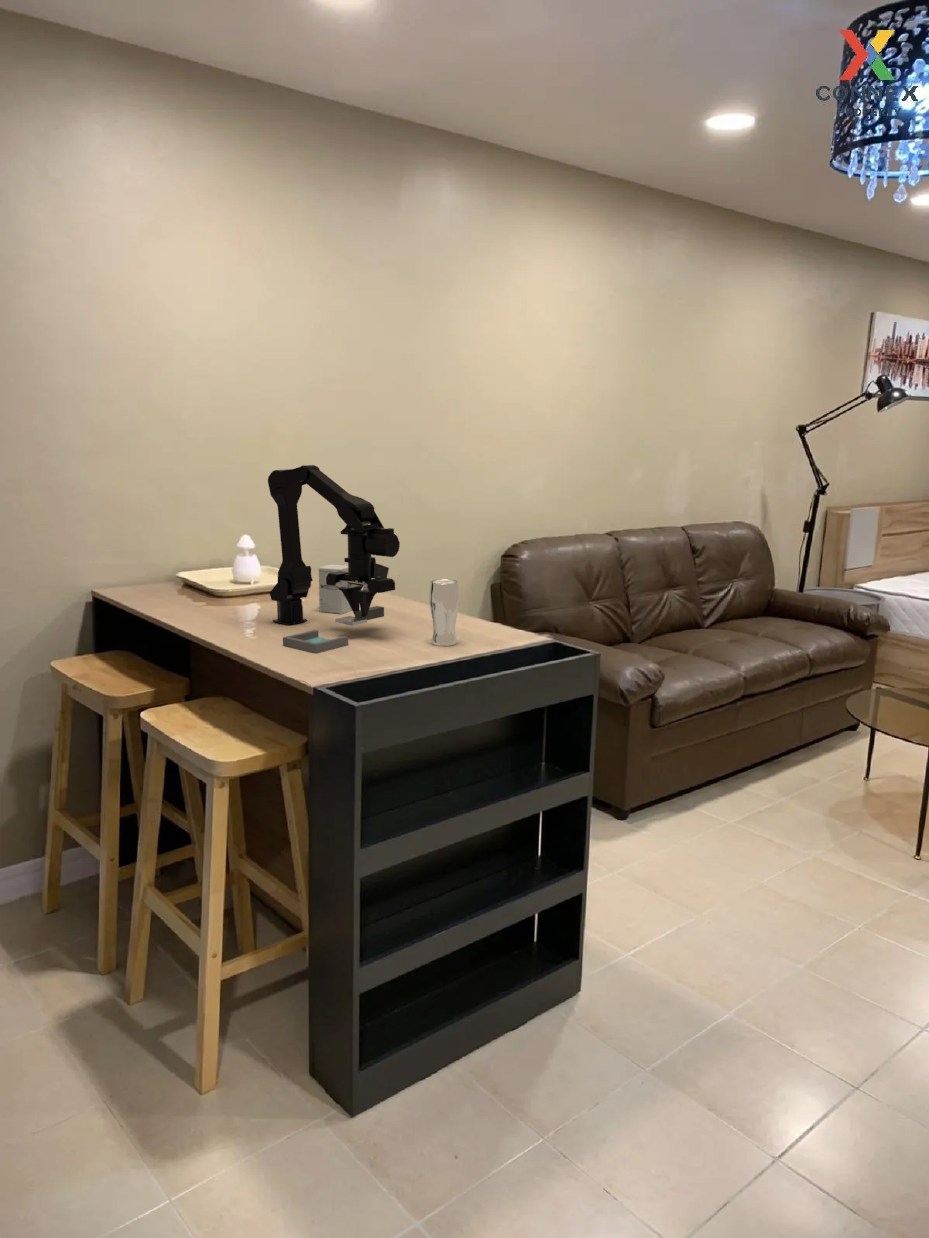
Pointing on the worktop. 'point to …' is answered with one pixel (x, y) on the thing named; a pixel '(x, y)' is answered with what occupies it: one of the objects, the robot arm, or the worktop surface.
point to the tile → (317, 640)
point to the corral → (300, 643)
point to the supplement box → (332, 591)
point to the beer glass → (444, 611)
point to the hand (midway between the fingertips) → (360, 615)
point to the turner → (359, 619)
